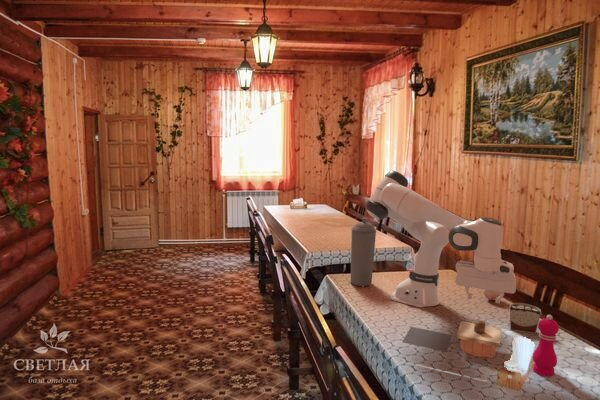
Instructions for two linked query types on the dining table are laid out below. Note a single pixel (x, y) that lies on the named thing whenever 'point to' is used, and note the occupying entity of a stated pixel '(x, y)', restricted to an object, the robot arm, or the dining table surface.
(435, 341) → the mat
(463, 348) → the bowl
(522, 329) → the food container
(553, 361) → the pepper mill
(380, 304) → the dining table surface
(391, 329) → the dining table surface
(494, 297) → the decorative fruit
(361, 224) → the canister
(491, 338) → the lid
